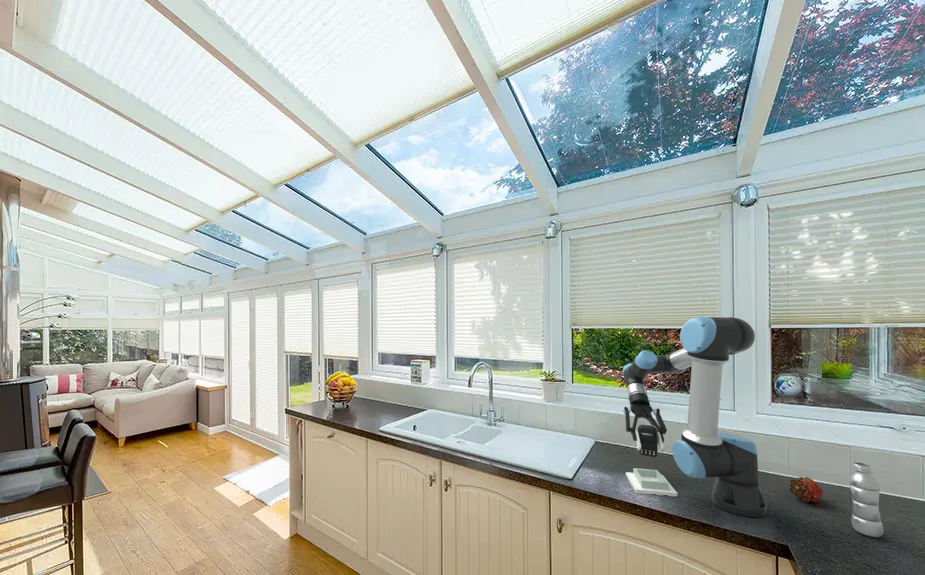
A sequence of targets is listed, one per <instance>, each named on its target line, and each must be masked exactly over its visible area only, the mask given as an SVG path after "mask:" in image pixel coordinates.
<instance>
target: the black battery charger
mask: <svg viewBox="0 0 925 575" xmlns="http://www.w3.org/2000/svg"><path fill="white" fill-rule="evenodd" d="M637 431H638V434H639V439H640V443H641V449H640V450H638V454H639V455H641V456H646V457H651V458H658V456H659V451H658V450H659V445H658V431H657V428H656V427H655V426H653V425H651V424H645V423H640V424H639V425H638V426H637Z"/></svg>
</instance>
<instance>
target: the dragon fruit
mask: <svg viewBox="0 0 925 575" xmlns="http://www.w3.org/2000/svg"><path fill="white" fill-rule="evenodd" d="M789 487H790V488H788V490H789V492H790V493H792V494H793V495H794V496H795V497H797V498H798V499H799V500H800V501H802V502H804V503H805V502H806V504H808V503H810V502H812V503H813V504H816V503H817V504H820V502H821V499H820V498H822V497H823V494H824V493H823V490H822V488H821V487H820V485H818V484H817V483H816V482H815V481H814V480H813V479H811V478H809V476H808V477H807V476H805V477H802V476H799V477H797V478H795V479H790V481H789Z"/></svg>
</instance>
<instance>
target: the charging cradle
mask: <svg viewBox="0 0 925 575" xmlns="http://www.w3.org/2000/svg"><path fill="white" fill-rule="evenodd" d="M632 471H633V472H627V471H626V472H625V477H626V476H627V477H626V478H627V480H628V482H629V484H630V485H631V487H632V489H633V491H634V492H635V493H636V494H641V493H642V495H652V494H656V496H663V495H668V496H667V497H675V496H676V498H677V497H678V496H679V494H678V492H677V491H676V490H675V488H674V487H673V485H671V483H670V482H669V481H668V480H667V478H666V477H665V476H664V475H663V474H661V473H660V472H659V470H658V469H648V468H636V467H635V468H632Z"/></svg>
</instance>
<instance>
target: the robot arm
mask: <svg viewBox="0 0 925 575" xmlns="http://www.w3.org/2000/svg"><path fill="white" fill-rule="evenodd" d="M755 334H756V333H755V330H754V329H753V327H752V326H751V324H750V323H749V322H747V321H745V320H743V319H741V318H739V317H732V316H731V317H725V316H724V317H723V316H722V317H720V316H718V317H717V316H716V317H715V316H701V317H693V318H690V319H688V320H687V321H686V322H685V323H684V324H683V325H682V327H681V329H680V334H679V340H680V341H679V342H680V343H682V344H681V346H682V348H680V349H678V350H676V351H673V352H672V353H669V354H667V355H666V354H665V355H662V354H661V355H659V354H658V355H656V354H655V353H653V352H652V351H649V350H647V349H644V350H641V351H640V352H639V353H638V355H636V356H635V358H634V360H633V361H632V362H631V363H627V364H626V365H624V366H623V368H622V376H623V379H624V384H625V387H626V390H627V396H628V401H629V407H627V406H624V407H623V413H624V415H625V416H624V417H625V431H626V432H627V433H630V434H631V436H632V440H633V441H635V442H636V447H637V451H639V450H640V449H641V443H640V439H639V434H638V430H636V429H637V425H638V420H639V419H642V418H643V419H646V420H647V421H648V422H649V425H653V426H655V427H656V428H657V431H658V449H659V452H660V453H663V452H664V449H665V448H664V443H665V438H664V435H666V434H667V431H668V429H667V427H666V424H665V423H664V420H663V417H662V416H661V409H660V408H653V407H652V406H651V403H650V399H649V396H648V391H647V389H646V384H645V379H646V378H647V377H648V376H649V374H682V373H685V372H686V370H687V369H688V368H691V370H690V371H691V372H690V383H689V384H690V385H689V395H688V396H689V398H688V414H687V427H686V428H684V429H683V430H681V436H680V437H681V438H680V439H678V440H676V441H674V443H673V444H672V455H673V456H672V457H673V459H674V461H675V463H676V464H677V467H678V468H679V469H680V470H681V472H682V473H683V474H685V475H686V476H688V477H689V478H692V479H693V478H695V479H696V478H697V479H698V478H699V479H705V478H716V479H715V481H714V482H715V483H714V485H713V488H712V491H711V501H712V503H713V504H714V505H716V506H717V507H719V508H720V509H722V510H724V511H727V512H728V513H732V514H734V515H739V516H743V517H747V518H748V517H749V518H762V517H765V516H766V515H767V514H768V506H767V503H766V500H765V498H764V497H763V494H762V491H761V489H760V487H759V486H760V482H759V468H758V467H759V464H758V453H757V445H756V443H755V442H754V441H753V440H751V439H749V438H746V437H743V436H739V435H735V434H733V433H732V434H731V433H727V432H718V430H719V417H720V416H719V415H720V404H721V402H720V401H721V389H722V378H723V365H725V364H726V363H727V362H729V360H730V359H729V358H730V356H733V355H736V354H739V353H742V352H745V351H747V350H749V349H750V348H752V346H753V345H754V344H755V339H756V335H755ZM630 413H632V414H633V415H634V418H633V423H632V427H631V419H630V418H631V416H630ZM652 413H653V415H654V416H655V418H654V416H653V415H652ZM655 419H656V420H655Z"/></svg>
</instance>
